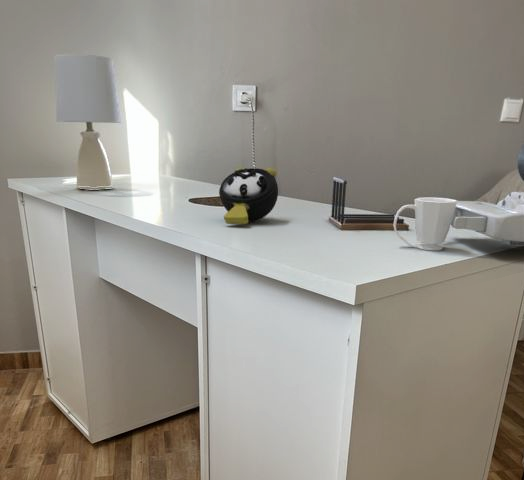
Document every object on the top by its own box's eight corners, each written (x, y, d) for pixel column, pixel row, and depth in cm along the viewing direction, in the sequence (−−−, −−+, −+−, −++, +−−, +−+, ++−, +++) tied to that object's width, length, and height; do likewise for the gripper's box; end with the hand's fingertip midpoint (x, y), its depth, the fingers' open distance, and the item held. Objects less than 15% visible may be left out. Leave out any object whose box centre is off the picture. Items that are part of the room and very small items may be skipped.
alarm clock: (210, 239, 120) (200, 171, 120) (270, 236, 126) (260, 172, 126) (231, 222, 109) (219, 148, 109) (295, 220, 115) (284, 150, 116)
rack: (390, 220, 124) (395, 177, 120) (408, 230, 112) (414, 182, 109) (328, 220, 122) (331, 176, 119) (340, 229, 111) (344, 181, 108)
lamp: (128, 186, 185) (119, 62, 171) (122, 192, 168) (112, 55, 154) (70, 186, 183) (57, 60, 169) (58, 192, 166) (42, 52, 152)
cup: (455, 252, 92) (462, 202, 89) (394, 250, 93) (399, 200, 90) (446, 244, 98) (452, 197, 95) (389, 242, 99) (393, 196, 96)
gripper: (494, 193, 104) (422, 192, 102) (558, 207, 85) (471, 206, 83) (488, 227, 106) (418, 227, 105) (549, 248, 87) (464, 248, 86)
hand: (441, 218), depth 94 cm, fingers open, 8 cm apart
